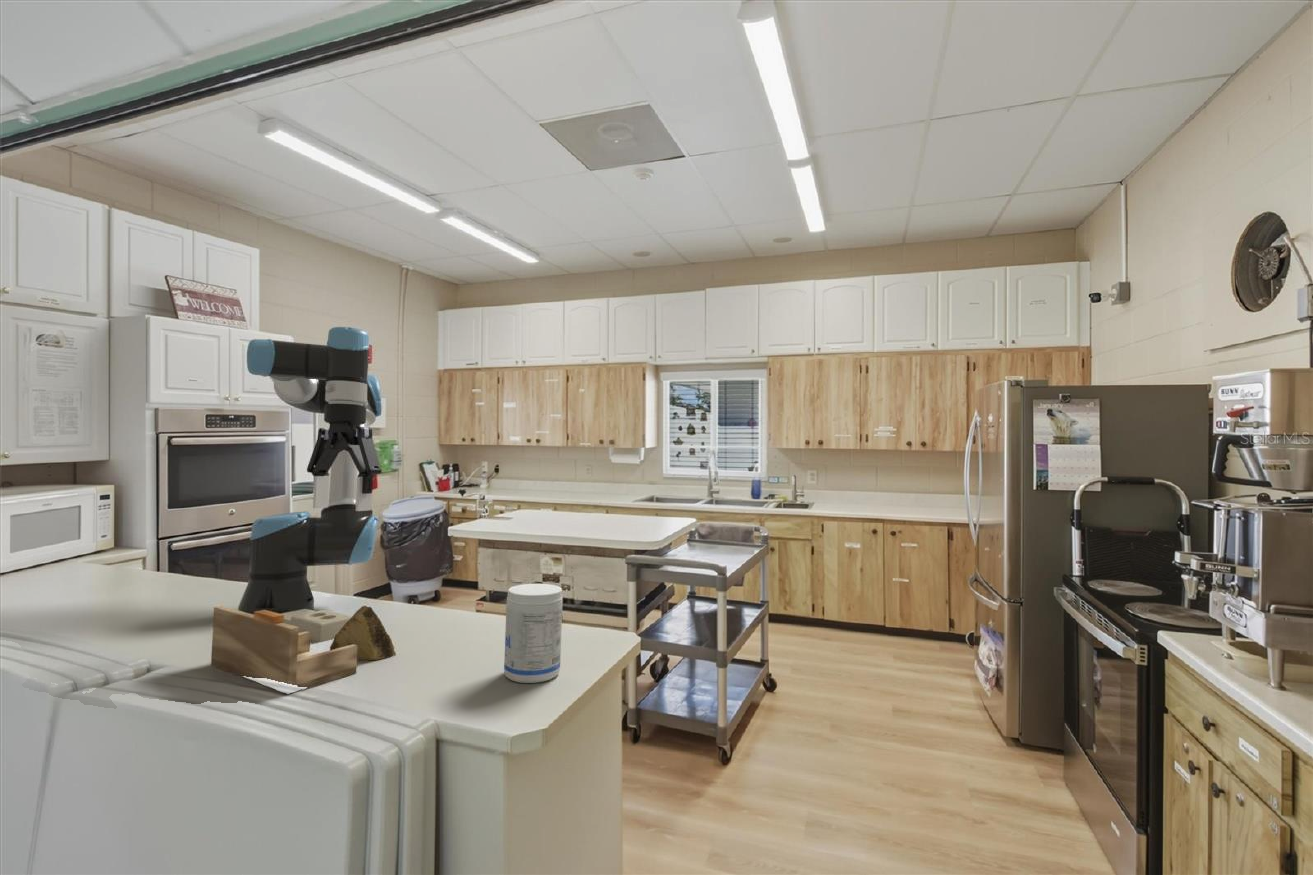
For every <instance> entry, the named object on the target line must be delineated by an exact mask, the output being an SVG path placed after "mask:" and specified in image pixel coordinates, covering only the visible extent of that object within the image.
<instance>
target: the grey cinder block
mask: <svg viewBox="0 0 1313 875" xmlns="http://www.w3.org/2000/svg"><path fill="white" fill-rule="evenodd" d="M282 615H284V623H285V624H289V625H292V626H296V627H299V632H298V633H301V632H305V631H308V632H310V641H312V642H316V643H324V642H327V641H332V640H334V637H335V635H336V634H337V633H338V632H339V631H340V630H341V629H342V627H343V626H344V625H345V624H346V623H347V622H348V621H349V620H350V618H351V617H352V616H353V615H348V614H343V613H339V612H335V611H332V610H327V609H322V610H314V609H313V610H309V609H302V610H297V611H292V612H287V613H282Z"/></svg>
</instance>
